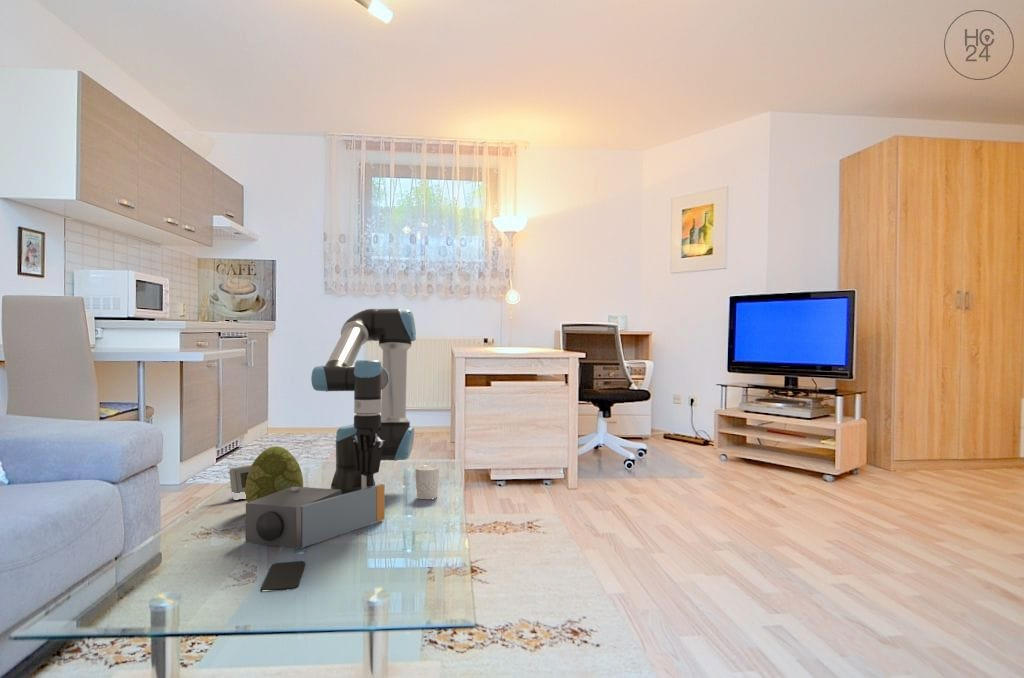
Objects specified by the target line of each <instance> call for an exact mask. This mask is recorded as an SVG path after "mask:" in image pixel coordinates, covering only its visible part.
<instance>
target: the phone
mask: <svg viewBox="0 0 1024 678" xmlns="http://www.w3.org/2000/svg"><path fill="white" fill-rule="evenodd" d="M305 567H306V561H304V560H296V561H284V562H275V563H273V564H271V566H270V568H269V570H268V572H267V574H266V576H265V578H264V581H263V582H262V584H261V586H260V591H261V590H279V591H288V590H287V589H290V590H295V589H297V588H298V587H299V585H300V582H301V579H302V576H303V573H304V571H305Z"/></svg>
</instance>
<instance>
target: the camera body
mask: <svg viewBox="0 0 1024 678" xmlns="http://www.w3.org/2000/svg"><path fill="white" fill-rule="evenodd" d="M339 495H341V490H337V489H331V488H324V487H323V488H320V487H307V486H306V487H305V486H303V487H295V486H292V487H289V488H287V489H284V490H281V491H278V492H276V493H273V494H270V495H267V496H264V497H262V498H259V499H256V500H253V501H251V502H248V503H247V502H246V503H245V543H250V544H259V545H269V546H278V547H287V548H295V549H296V506H302V505H306V504H310V503H313V502H317V501H321V500H324V499H328V498H332V497H335V496H339Z"/></svg>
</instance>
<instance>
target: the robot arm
mask: <svg viewBox="0 0 1024 678" xmlns="http://www.w3.org/2000/svg"><path fill="white" fill-rule="evenodd" d="M415 322H416V321H415V319H414V314H413V312H412V311H411V310H410V309H408V308H407V309H406V308H368V309H364V310H361V311H359V312H357V313H355V314H353V315H352V316H351V317H349V318H348V319H347V320H346V321H345V322H344V323H343V325H342V328H340V338H339V339H338V341H337V342H336V345H335V347H334V349H333V350H332V353H331V354H330V356H329V358H328V360H327V362H326V363H325V365H319V366H315V367H314V368H313V369H312V371H311V377H310V378H311V380H310V381H311V387H312V388H313V390H314V391H316V392H354V393H353V394H354V397H353V398H354V399H353V400H354V402H353V404H354V405H353V407H354V408H353V410H354V411H353V412H354V414H355V415H354V416H353V423H352V424H347V425H346V424H345V425H343V426H340V427H338V428H337V430H336V436H335V437H336V438H335V441H334V442H335V471H334V475H333V477H332V481H331V483H330V489H337V490H341V495H343V494H346V493H350V492H354V491H357V490H361V489H365V488H368V487H372V486H376V482H375V481H376V480H375V478H374V475H375V474H378V473H379V472H380V467H381V466H380V465H381V461H394V462H396V461H405V460H407V459H409V457H410V456H411V453H412V451H413V445H414V438H415V428H414V427H413V426H412V425H411V423H410V420H409V419H408V417H407V416H406V415H407V413H406V412H407V410H406V409H407V374H408V373H407V370H408V369H407V367H408V366H407V365H408V358H407V357H408V350H409V349H410V348H411V347H412V342H415V341H416V340H417V336H416V335H417V332H416V324H415ZM372 341H375V342H378V347H380V349H382V362H381V361H380V360H378V359H372V360H371V359H362V360H361V359H360V360H359V359H358V360H356V358H357V357H358V354H359V352H360V350H361V347H362V346H363V345H365V344H366V342H372ZM353 365H354V366H353Z"/></svg>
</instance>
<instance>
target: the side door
mask: <svg viewBox="0 0 1024 678" xmlns="http://www.w3.org/2000/svg"><path fill="white" fill-rule="evenodd" d="M385 489H386V488H385V484H384V483H380V484H375V486H372V487H368V488H365V489H361V490H357V491H354V492H350V493H346V494H343V495H339V496H335V497H332V498H328V499H324V500H321V501H317V502H313V503H310V504H306V505H302V506H296V548H295V550H301V549H302V548H305V547H308V546H311V545H314V544H317V543H320V542H323V541H325V540H328V539H332V538H335V537H337V536H339V535H343V534H346V533H348V532H351V531H354V530H358V529H359V528H362V527H366V526H369V525H371V524H374V523H378V522H382V521H384V520H385V516H386V515H385V511H386V510H385V509H386V508H385V501H386V499H385V497H386V495H385V493H386V492H385Z"/></svg>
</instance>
